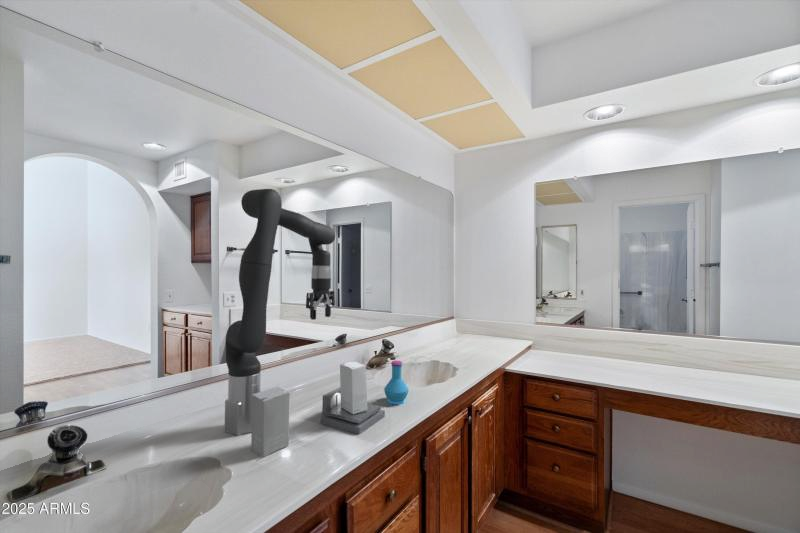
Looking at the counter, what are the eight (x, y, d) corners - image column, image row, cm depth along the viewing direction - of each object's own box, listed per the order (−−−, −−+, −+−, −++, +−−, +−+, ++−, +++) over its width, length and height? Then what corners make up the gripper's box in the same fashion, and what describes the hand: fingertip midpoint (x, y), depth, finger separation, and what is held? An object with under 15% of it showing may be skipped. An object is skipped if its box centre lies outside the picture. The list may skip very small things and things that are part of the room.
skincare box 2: (367, 411, 118) (368, 365, 118) (351, 415, 115) (352, 368, 115) (354, 403, 125) (355, 360, 125) (338, 407, 121) (339, 362, 121)
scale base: (359, 434, 110) (359, 407, 110) (317, 422, 118) (317, 397, 118) (384, 416, 123) (385, 393, 123) (345, 407, 131) (345, 384, 131)
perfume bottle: (412, 404, 135) (412, 363, 135) (388, 407, 132) (389, 365, 132) (402, 395, 144) (403, 357, 144) (380, 398, 140) (381, 359, 140)
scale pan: (358, 425, 111) (358, 420, 111) (325, 416, 117) (325, 411, 117) (380, 410, 123) (380, 406, 123) (349, 403, 129) (349, 399, 129)
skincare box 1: (276, 439, 106) (277, 385, 106) (290, 447, 101) (291, 390, 101) (248, 450, 99) (249, 392, 99) (262, 459, 95) (263, 398, 95)
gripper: (325, 276, 152) (325, 315, 152) (301, 277, 139) (300, 319, 139) (339, 277, 148) (339, 316, 148) (316, 277, 136) (315, 321, 136)
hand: (320, 318), depth 144 cm, fingers open, 8 cm apart
